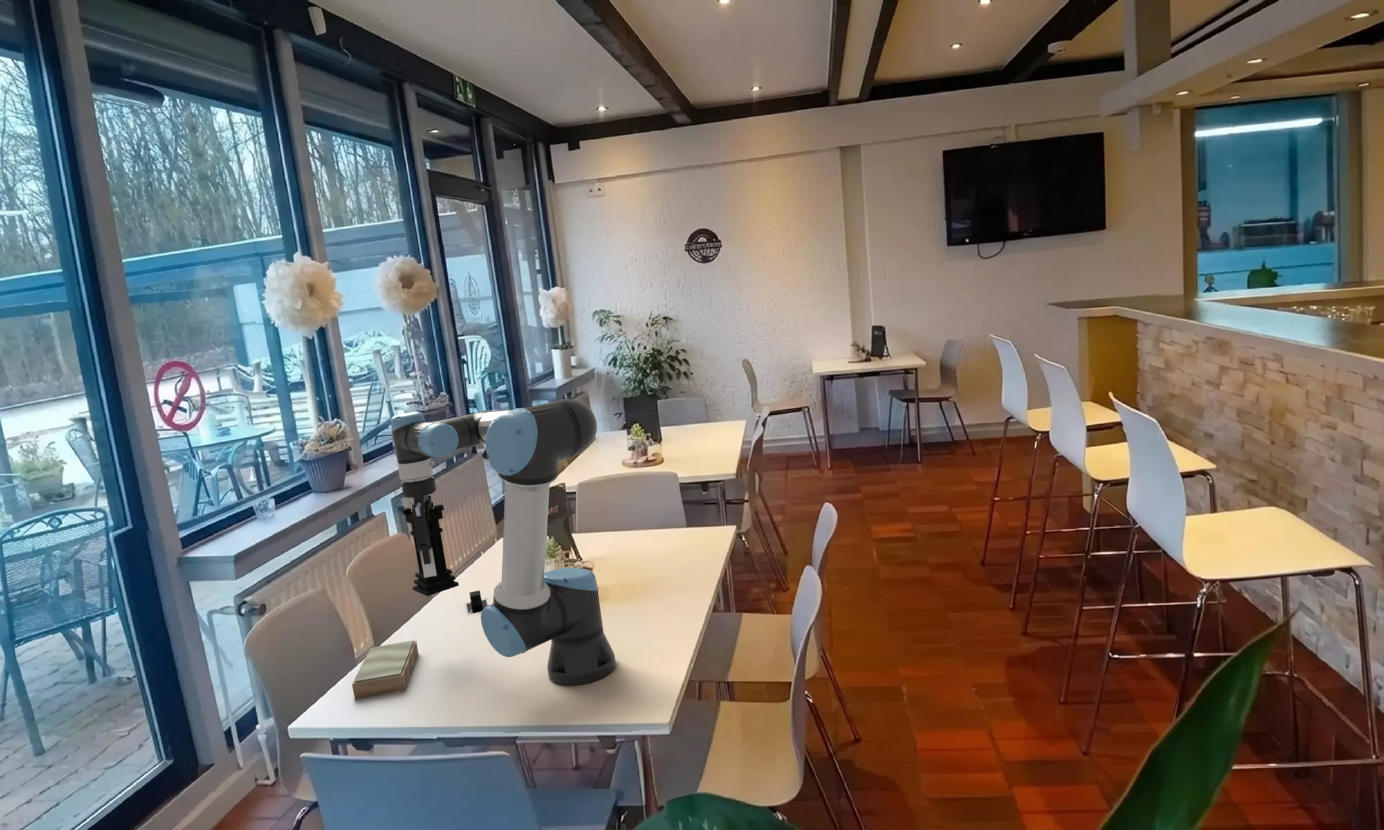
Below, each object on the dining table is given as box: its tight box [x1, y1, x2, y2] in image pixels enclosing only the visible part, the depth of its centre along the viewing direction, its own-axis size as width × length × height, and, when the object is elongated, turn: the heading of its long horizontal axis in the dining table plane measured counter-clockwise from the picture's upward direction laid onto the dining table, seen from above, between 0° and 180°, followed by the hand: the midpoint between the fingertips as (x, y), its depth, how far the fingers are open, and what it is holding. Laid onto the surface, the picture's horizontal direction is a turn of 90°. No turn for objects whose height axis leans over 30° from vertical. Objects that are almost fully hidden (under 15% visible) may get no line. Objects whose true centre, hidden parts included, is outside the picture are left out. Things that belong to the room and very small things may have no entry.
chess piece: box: [401, 501, 460, 597], centre depth 204 cm, size 8×8×20 cm
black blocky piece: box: [466, 590, 488, 615], centre depth 241 cm, size 12×7×5 cm, turn 18°
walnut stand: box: [351, 639, 419, 700], centre depth 201 cm, size 20×11×4 cm, turn 10°
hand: (433, 569), depth 205 cm, fingers closed on chess piece, 9 cm apart
